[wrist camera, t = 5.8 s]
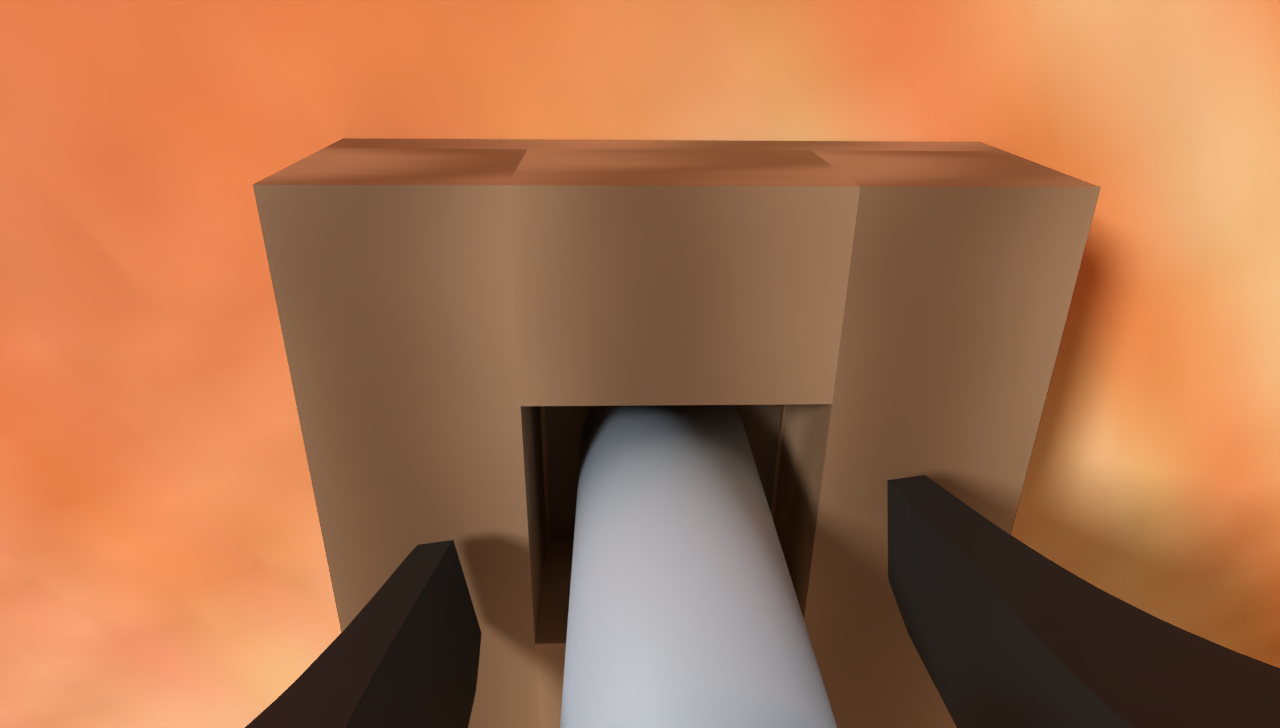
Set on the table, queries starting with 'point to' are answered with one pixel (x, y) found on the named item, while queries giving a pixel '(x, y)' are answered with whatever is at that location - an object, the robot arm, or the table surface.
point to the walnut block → (665, 360)
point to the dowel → (681, 582)
